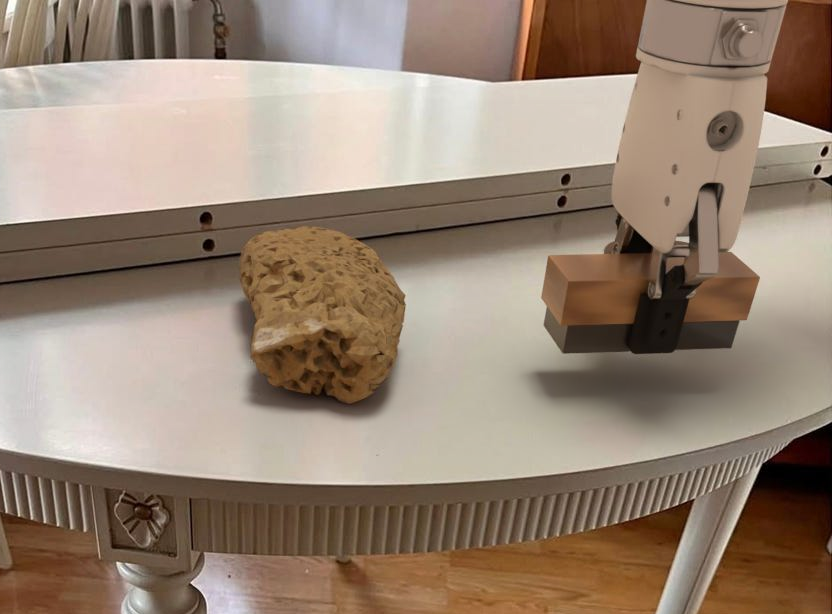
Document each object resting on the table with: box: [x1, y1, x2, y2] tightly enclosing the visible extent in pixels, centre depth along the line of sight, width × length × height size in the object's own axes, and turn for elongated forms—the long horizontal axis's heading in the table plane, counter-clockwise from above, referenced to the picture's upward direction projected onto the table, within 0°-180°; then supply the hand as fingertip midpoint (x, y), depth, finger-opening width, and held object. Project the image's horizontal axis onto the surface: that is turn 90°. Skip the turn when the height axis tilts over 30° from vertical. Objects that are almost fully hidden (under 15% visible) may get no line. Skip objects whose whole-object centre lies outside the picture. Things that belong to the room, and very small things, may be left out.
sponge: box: [238, 225, 407, 405], centre depth 71 cm, size 13×8×20 cm
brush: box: [540, 251, 761, 355], centre depth 67 cm, size 13×4×5 cm, turn 99°
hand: (637, 331), depth 69 cm, fingers closed on brush, 4 cm apart
